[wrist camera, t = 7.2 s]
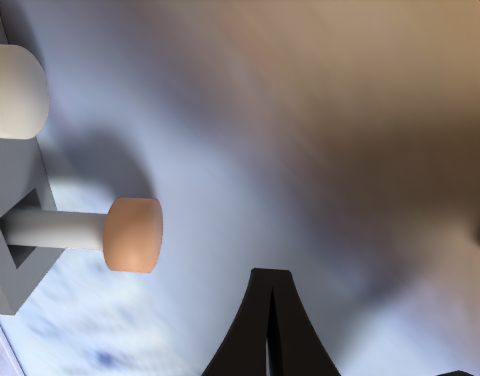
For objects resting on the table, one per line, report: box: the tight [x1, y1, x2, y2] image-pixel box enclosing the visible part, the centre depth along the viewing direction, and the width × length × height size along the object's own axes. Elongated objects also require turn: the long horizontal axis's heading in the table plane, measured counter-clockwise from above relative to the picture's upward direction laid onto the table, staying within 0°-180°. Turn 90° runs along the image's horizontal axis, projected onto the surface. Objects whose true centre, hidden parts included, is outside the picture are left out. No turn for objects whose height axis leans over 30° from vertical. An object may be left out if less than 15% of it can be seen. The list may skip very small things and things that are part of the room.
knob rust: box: [0, 197, 163, 273], centre depth 15 cm, size 6×3×3 cm, turn 89°
